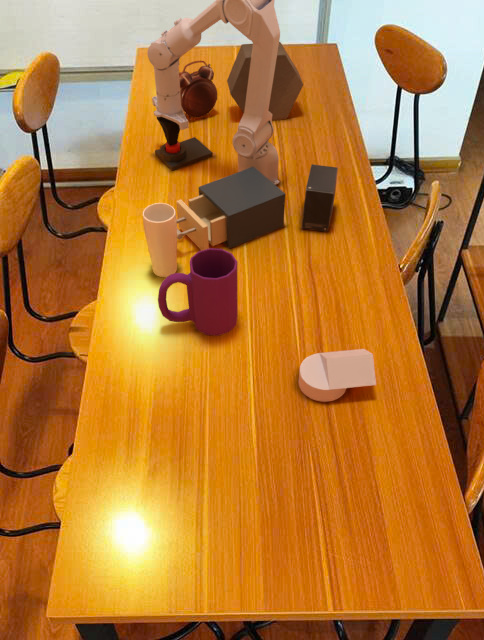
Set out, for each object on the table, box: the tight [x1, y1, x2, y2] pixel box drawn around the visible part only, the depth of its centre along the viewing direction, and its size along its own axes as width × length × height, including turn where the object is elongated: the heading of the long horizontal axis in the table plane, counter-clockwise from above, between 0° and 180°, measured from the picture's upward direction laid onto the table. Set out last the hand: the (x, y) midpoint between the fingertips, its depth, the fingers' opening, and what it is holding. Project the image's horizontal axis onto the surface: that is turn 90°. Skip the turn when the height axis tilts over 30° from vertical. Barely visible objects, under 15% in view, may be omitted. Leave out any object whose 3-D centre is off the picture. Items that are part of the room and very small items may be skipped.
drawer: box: [175, 194, 227, 251], centre depth 153 cm, size 18×12×7 cm, turn 122°
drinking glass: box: [142, 202, 178, 278], centre depth 143 cm, size 7×7×15 cm
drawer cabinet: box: [198, 167, 286, 250], centre depth 156 cm, size 15×13×9 cm
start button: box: [164, 140, 180, 153], centre depth 174 cm, size 4×4×2 cm
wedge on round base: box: [298, 348, 377, 403], centre depth 126 cm, size 9×7×13 cm
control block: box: [154, 136, 213, 172], centre depth 177 cm, size 12×9×3 cm
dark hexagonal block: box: [226, 41, 304, 121], centre depth 184 cm, size 17×8×21 cm
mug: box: [157, 247, 239, 337], centre depth 133 cm, size 9×16×15 cm, turn 99°
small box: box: [301, 163, 339, 232], centre depth 156 cm, size 11×6×10 cm, turn 168°
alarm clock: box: [179, 60, 218, 121], centre depth 184 cm, size 11×5×15 cm, turn 115°
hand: (172, 143), depth 173 cm, fingers closed
